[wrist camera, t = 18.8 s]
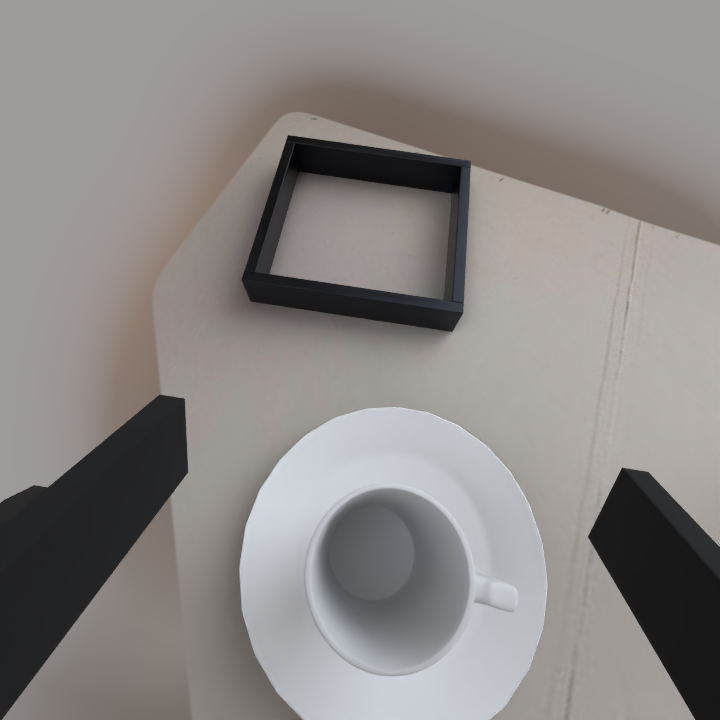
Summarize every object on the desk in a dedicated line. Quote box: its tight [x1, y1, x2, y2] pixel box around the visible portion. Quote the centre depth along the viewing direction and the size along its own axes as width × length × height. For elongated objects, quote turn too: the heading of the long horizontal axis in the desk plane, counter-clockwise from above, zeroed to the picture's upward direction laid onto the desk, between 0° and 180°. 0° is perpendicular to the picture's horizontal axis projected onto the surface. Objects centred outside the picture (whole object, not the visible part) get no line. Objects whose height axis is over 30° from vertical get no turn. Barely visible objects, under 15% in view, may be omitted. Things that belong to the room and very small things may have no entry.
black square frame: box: [242, 135, 471, 332], centre depth 38 cm, size 19×18×4 cm
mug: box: [304, 483, 518, 676], centre depth 21 cm, size 10×7×12 cm, turn 77°
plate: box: [239, 407, 548, 720], centre depth 27 cm, size 21×21×2 cm
